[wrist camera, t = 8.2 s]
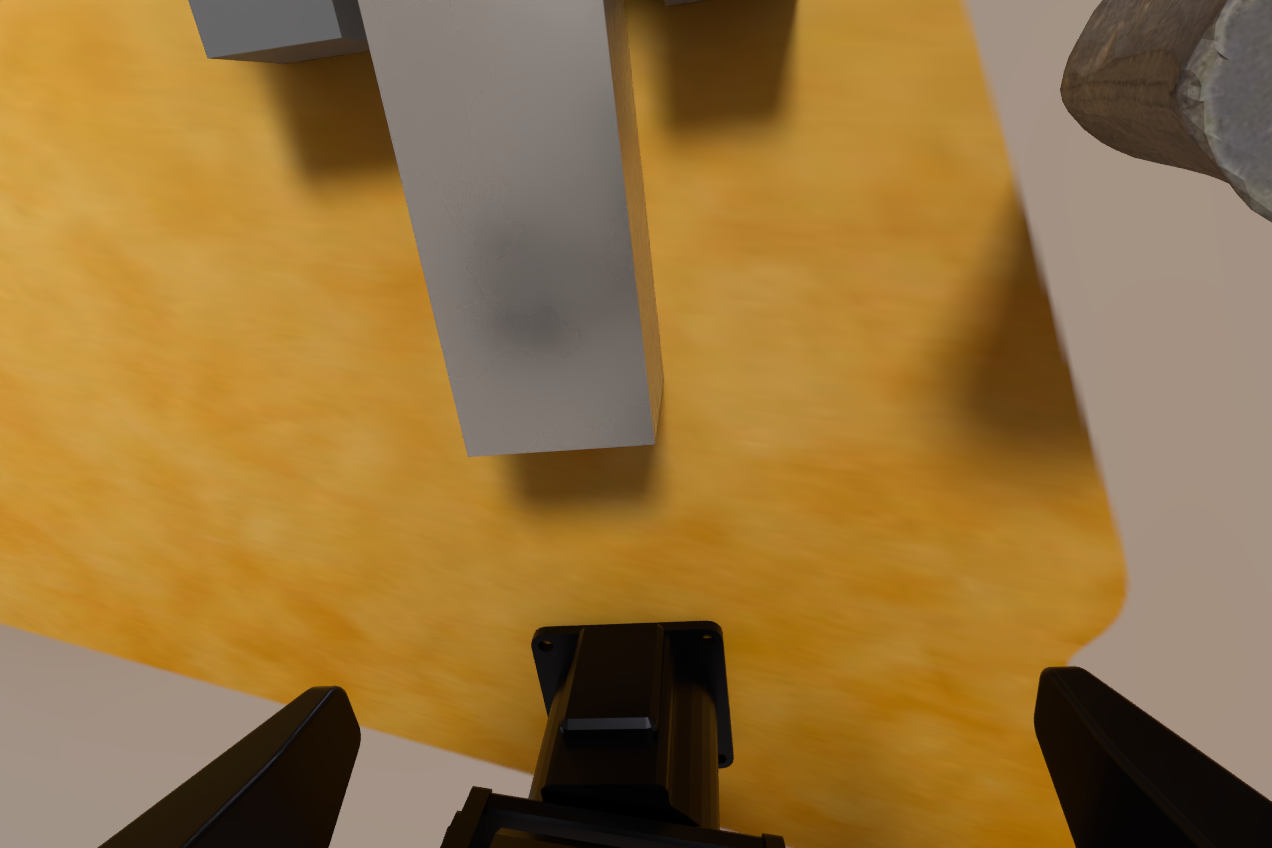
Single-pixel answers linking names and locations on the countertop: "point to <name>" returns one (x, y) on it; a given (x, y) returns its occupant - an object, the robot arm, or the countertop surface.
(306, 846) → the robot arm
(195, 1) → the grey u-shaped block
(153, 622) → the countertop surface
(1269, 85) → the grey tapered cup
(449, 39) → the long gray post
